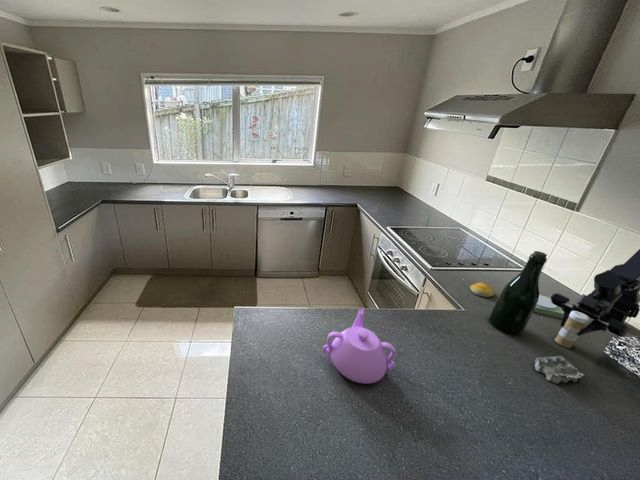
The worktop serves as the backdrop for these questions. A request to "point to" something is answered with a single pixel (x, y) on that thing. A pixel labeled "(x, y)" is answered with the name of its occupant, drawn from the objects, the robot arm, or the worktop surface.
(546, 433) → the worktop surface
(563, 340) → the sprinkles bottle
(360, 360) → the teapot
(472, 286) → the bread roll
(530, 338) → the worktop surface
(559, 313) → the scale
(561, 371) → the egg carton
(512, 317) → the beer bottle
